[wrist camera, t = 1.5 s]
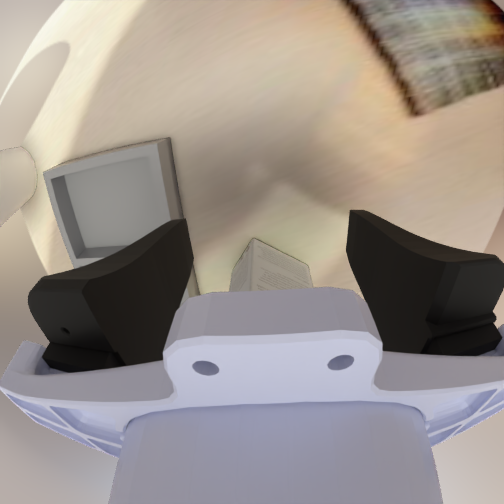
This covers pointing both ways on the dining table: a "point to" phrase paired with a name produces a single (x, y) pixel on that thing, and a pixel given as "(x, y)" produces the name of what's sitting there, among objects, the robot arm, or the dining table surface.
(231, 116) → the dining table surface
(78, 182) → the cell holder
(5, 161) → the foam cup
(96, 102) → the dining table surface
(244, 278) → the skincare box
